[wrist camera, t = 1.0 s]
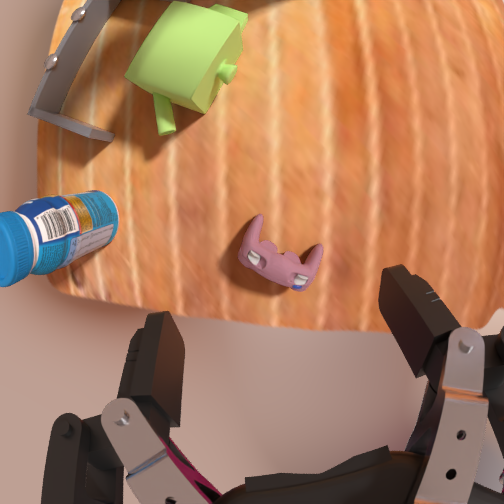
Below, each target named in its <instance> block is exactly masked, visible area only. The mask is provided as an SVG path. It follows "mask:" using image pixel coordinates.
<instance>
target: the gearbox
mask: <svg viewBox="0 0 504 504" xmlns="http://www.w3.org/2000/svg"><path fill="white" fill-rule="evenodd" d="M247 21H248V14H246V13H244V12H241V11H238V10H235V9H232V8H229V7H225V6H222V5H219V4H215V5H213V6H211V7H210V8H208V9H207V8H204V7H201V6H197V5H194V4H190V3H185V2H179V1H173V2H172V3H171V4H170V5H169V6H168V8H167V9H166V10H165V11H164V13H163V14H162V15H161V17H160V18H159V20H158V21H157V22H156V24H155V25H154V27H153V28H152V30H151V31H150V32H149V34H148V35H147V37H146V39H145V40H144V42H143V43H142V45H141V47H140V48H139V50H138V52H137V53H136V55H135V57H134V59H133V60H132V62H131V64H130V66H129V68H128V70H127V72H126V74H125V76H124V77H125V78H126V79H128V80H129V81H131V82H132V83H134V84H136V85H137V86H139V87H140V88H142V89H144V90H145V91H147V92H149V93H150V94H152V95H153V99H154V107H155V114H156V121H157V128H158V134H159V136H162V135H168V134H171V133H174V132H176V127H175V122H174V117H173V111H172V106H171V102H172V103H174V104H177V105H180V106H183V107H185V108H188V109H191V110H194V111H197V112H199V113H202V114H206V112H207V111H208V109H209V107H210V105H211V104H212V102H213V100H214V98H215V97H216V95H217V93H218V91H219V90H220V88H221V86H222V85H223V83H225V84H227V85H228V84H229V83H230V82H231V81H232V80H233V78H234V76H235V74H236V72H237V65H234V64H235V63H236V61H237V59H238V58H239V56H240V55H241V53H242V51H243V46H242V36H241V34H242V32H243V30H244V27H245V25H246V23H247Z"/></svg>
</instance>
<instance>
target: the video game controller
mask: <svg viewBox="0 0 504 504" xmlns="http://www.w3.org/2000/svg"><path fill="white" fill-rule="evenodd" d="M262 225H263V215H262V214H258V215H257V216H256V217H255V218H254V219H253V220H252V222H251V223H250V225H249V227H248V229H247V231H246V233H245V235H244V238H243V241H242V244H241V247H240V250H239V252H238V259H239V261H240V262H241V263H242V264H243V265H244V266H245V267H247V268H249V269H253V270H254V271H255V272H257V273H258V274H260V275H261V276H263V277H265V278H267V279H269V280H270V281H273V282H275V283H277V284H280V285H283V286H287V287H290V288H291V289H293V290H295V291H300V292H301V291H304V290H306V289H307V288H308V287H309V285H310V284H311V283H312V282H313V280H314V278H315V275H316V273H317V270H318V268H319V265H320V262H321V258H322V255H323V246H322V244H320V243H319V244H317V245H316V246H315V247H314V248H313V249H312V251H311V252H310V254H309V255H308V257H307V259H306V261H305V263H304V264H301V262H300V259H299V257H298V256H297V255H296V254H295V253H293V252H290V251H287V252H285V253H284V254H283V255H282V254H279V253H276V252H277V247H276V245H275V244H274V243H272V242H270V241H268V240H264V241H262V242H260V243H259V235H260V232H261V228H262Z"/></svg>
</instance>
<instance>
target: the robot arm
mask: <svg viewBox="0 0 504 504" xmlns="http://www.w3.org/2000/svg"><path fill="white" fill-rule="evenodd" d="M378 302H379V309H380V312H381V314H382V316H383V318H384V319H385V321H386V323H387V325H388V327H389V328H390V330H391V332H392V334H393V336H394V337H395V339H396V341H397V343H398V345H399V347H400V348H401V350H402V352H403V354H404V356H405V358H406V360H407V362H408V364H409V366H410V367H411V369H412V371H413V373H414V375H415V377H416V378H418V377H421V376H423V375H426V376H427V378H428V381H427V385H426V388H425V393H424V397H423V401H422V405H421V409H420V412H419V415H418V419H417V422H416V426H415V428H414V431H413V432H412V434H411V437H410V438H409V440H408V443H407V445H406V448H405V451H389V448H388V446H387V445H386V446H384V447H381V448H378V449H375V450H372V451H369V452H366V453H363V454H360V455H356V456H354V457H352V458H350V459H348V460H347V461H345V462H343V463H341V464H339V465H337V466H335V467H334V468H331V469H330V470H327V471H325V472H323V473H320V474H293V473H277V474H270V475H263V476H254V477H245V484H242V485H240V486H238V487H235V488H233V489H231V490H230V491H228V492H226V493H225V494H223V495H222V494H221V493H220V492H219V491H218V490H217V489H216V488H215V487H214V486H213V485H212V484H211V483H210V482H209V481H208V480H207V479H206V478H205V477H204V476H202V475H201V474H200V473H199V471H197V469H196V468H195V467H194V466H193V465H192V464H191V462H190V461H189V460H188V459H187V458H186V457H185V455H184V454H183V453H182V452H181V450H180V449H179V448H178V447H177V445H176V444H175V443H174V442H173V440H172V439H171V438H170V437H169V433H170V427H180V417H181V399H182V384H183V371H184V359H185V347H184V341H183V339H182V336H181V334H180V332H179V330H178V328H177V326H176V324H175V322H174V320H173V318H172V316H171V314H170V312H169V311H163V312H156V313H150V314H148V315H147V318H146V322H145V326H144V328H141V329H138V330H137V331H136V333H135V334H134V336H133V337H132V339H131V341H130V345H129V349H128V354H127V357H126V363H125V365H124V369H123V373H122V378H121V382H120V387H119V391H118V395H117V399H115V400H113V401H111V402H110V403H108V404H107V405H106V407H105V408H104V410H103V412H102V414H101V415H97V416H94V417H90V418H87V419H84V420H81V419H80V418H79V417H77V416H76V415H75V414H72V413H65V414H63V415H61V416H59V417H58V418H57V419H56V421H55V422H54V424H53V427H52V431H51V436H50V441H49V446H48V452H47V457H46V464H45V471H44V478H43V487H42V497H41V504H123V476H124V466H125V468H126V470H127V472H128V475H127V476H126V481H127V483H128V485H129V487H130V489H131V490H132V492H133V493H134V495H135V496H136V498H137V499H138V500H139V502H140V503H141V504H504V469H503V472H502V473H501V475H500V478H499V481H500V483H501V484H503V489H502V493H498V492H496V491H493V490H491V489H489V488H487V487H484V486H482V485H480V484H478V483H475V482H474V479H475V476H476V472H477V468H478V464H479V460H480V455H481V451H482V445H483V440H484V435H485V429H486V422H487V417H488V419H489V421H490V424H491V426H492V428H493V431H494V434H495V436H496V438H497V441H498V444H499V447H500V450H501V452H502V455H503V458H504V326H503V328H502V329H501V331H500V333H499V334H497V335H488V336H481V335H480V334H479V333H478V332H477V331H475V330H474V329H471V328H468V327H461V326H460V324H459V323H458V321H457V320H456V319H455V317H454V316H453V315H452V313H451V312H450V311H449V309H448V308H447V307H446V305H445V304H444V303H443V301H442V300H440V297H439V296H438V295H437V294H436V292H434V290H433V289H432V287H431V286H430V285H429V284H428V282H427V281H425V280H424V279H422V278H421V277H419V276H418V275H416V274H415V275H411V274H410V272H409V271H408V270H407V269H406V268H405V266H404V265H402V264H400V265H396V266H392V267H388V268H384V269H383V271H382V276H381V284H380V291H379V299H378ZM86 472H87V474H86ZM85 485H86V487H85Z"/></svg>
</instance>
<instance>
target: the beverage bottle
mask: <svg viewBox="0 0 504 504" xmlns="http://www.w3.org/2000/svg"><path fill="white" fill-rule="evenodd" d="M118 227H119V213H118V209H117V207H116V204H115V203H114V201H113V200H112V198H111V197H110V196H109V195H107V194H106V193H104V192H102V191H98V190H92V191H87V192H84V193H77V194H69V195H61V196H59V195H47V196H44V197H42V198H40V199H39V198H35V199H31V200H28V201H27V202H25V203H23V204H22V205H21V206H20V207H19V208H18V209H17V210H16V211H15V212H13V211H7V212H2V213H0V287H8V286H11V285H13V284H15V283H16V282H18V281H20V280H22V279H24V278H25V277H26V276H28V274H29V273H30V274H35V275H45V274H49V273H51V272H53V271H55V270H56V269H60V268H63V267H65V266H67V265H69V264H70V263H72V262H73V261H74V260H76V259H78V258H80V257H82V256H84V255H86V254H88V253H90V252H92V251H94V250H96V249H98V248H101V247H103V246H105V245H107V244H109V243H110V242H111V241H112V240H113V239H114V237H115V235H116V233H117V231H118Z"/></svg>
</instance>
